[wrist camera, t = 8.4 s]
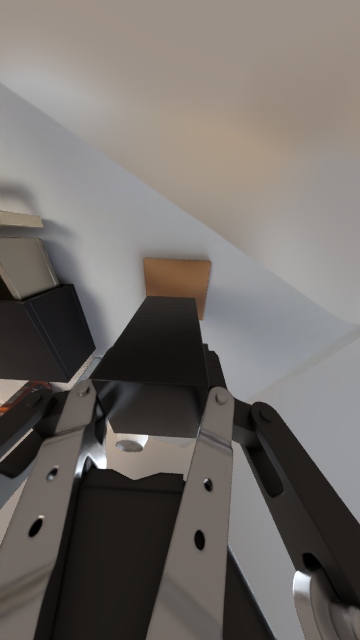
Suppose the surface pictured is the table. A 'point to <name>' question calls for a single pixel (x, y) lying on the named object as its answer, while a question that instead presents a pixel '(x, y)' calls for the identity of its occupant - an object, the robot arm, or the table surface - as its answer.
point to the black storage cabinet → (44, 337)
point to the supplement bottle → (23, 394)
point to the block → (156, 371)
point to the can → (131, 442)
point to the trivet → (178, 279)
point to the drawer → (24, 262)
